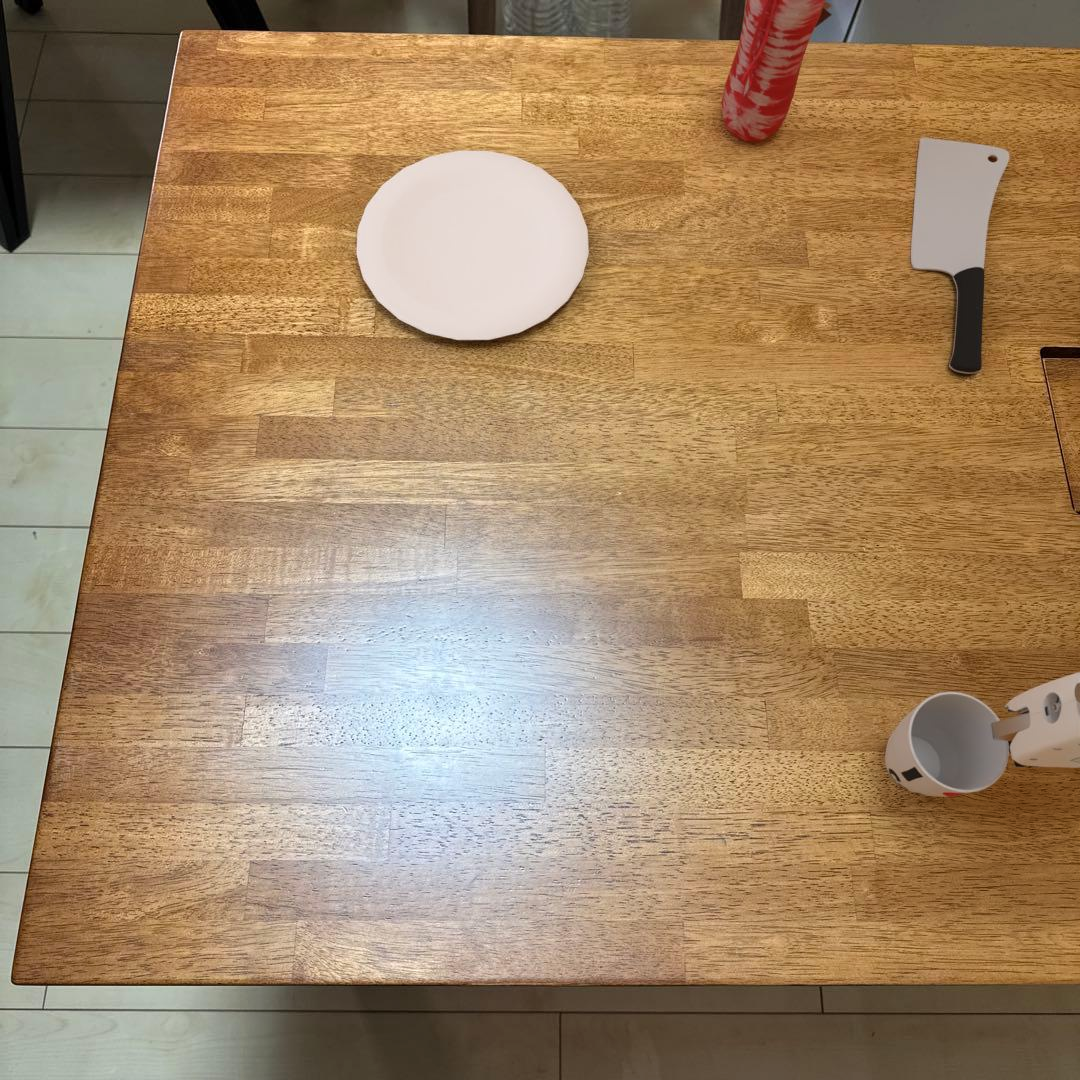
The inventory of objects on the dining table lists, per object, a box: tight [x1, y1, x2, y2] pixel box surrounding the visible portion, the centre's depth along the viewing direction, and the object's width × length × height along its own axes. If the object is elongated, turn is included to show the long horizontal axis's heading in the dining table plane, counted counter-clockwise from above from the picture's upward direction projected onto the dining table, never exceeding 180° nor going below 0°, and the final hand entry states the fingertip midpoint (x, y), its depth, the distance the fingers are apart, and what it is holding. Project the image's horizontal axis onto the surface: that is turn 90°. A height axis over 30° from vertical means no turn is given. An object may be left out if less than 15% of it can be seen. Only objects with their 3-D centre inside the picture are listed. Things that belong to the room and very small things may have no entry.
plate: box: [355, 150, 590, 342], centre depth 110 cm, size 25×25×2 cm
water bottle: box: [720, 0, 833, 143], centre depth 107 cm, size 12×8×25 cm, turn 140°
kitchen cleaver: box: [910, 137, 1011, 377], centre depth 112 cm, size 31×2×10 cm
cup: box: [884, 691, 1010, 798], centre depth 87 cm, size 8×8×10 cm
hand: (1021, 748), depth 84 cm, fingers closed
